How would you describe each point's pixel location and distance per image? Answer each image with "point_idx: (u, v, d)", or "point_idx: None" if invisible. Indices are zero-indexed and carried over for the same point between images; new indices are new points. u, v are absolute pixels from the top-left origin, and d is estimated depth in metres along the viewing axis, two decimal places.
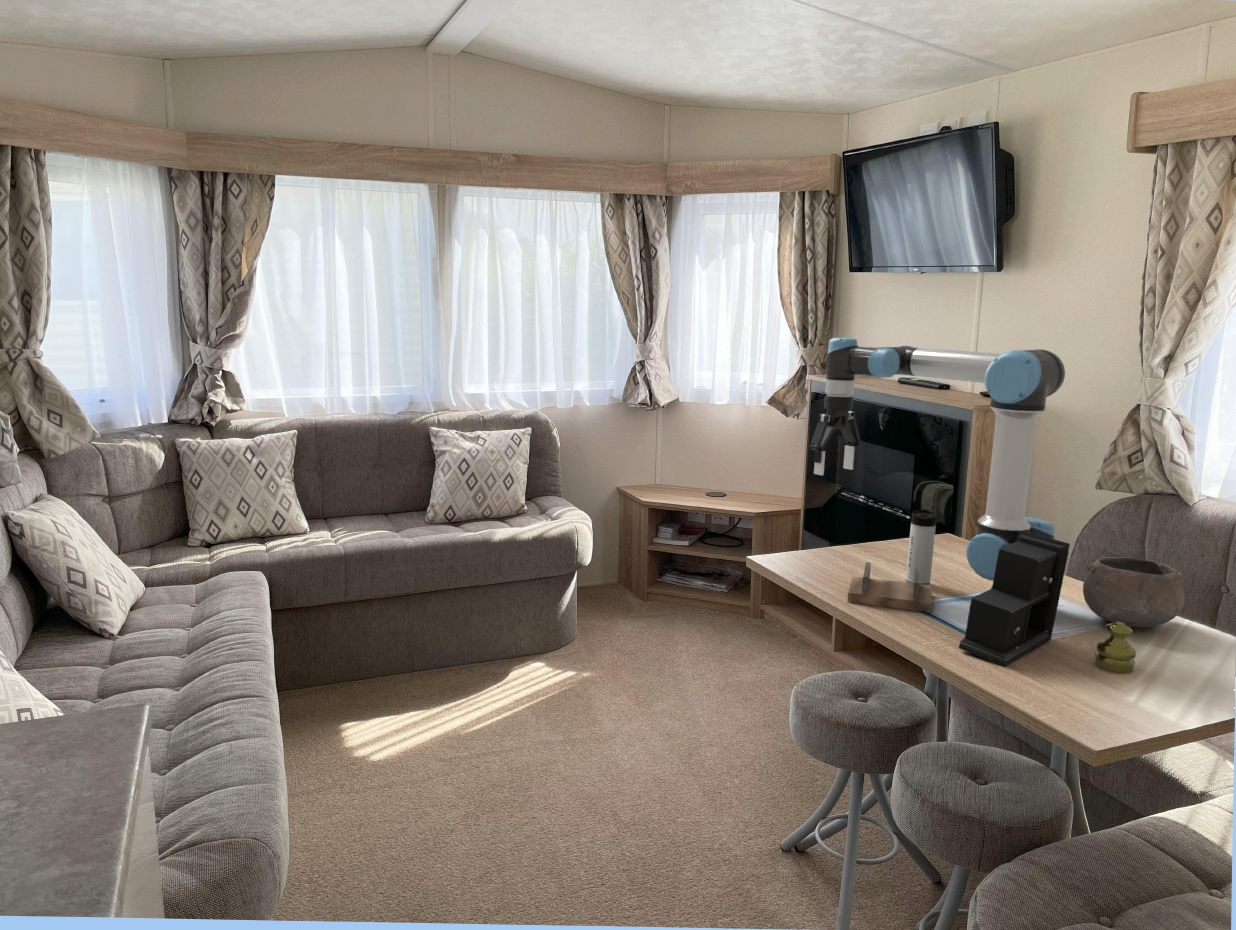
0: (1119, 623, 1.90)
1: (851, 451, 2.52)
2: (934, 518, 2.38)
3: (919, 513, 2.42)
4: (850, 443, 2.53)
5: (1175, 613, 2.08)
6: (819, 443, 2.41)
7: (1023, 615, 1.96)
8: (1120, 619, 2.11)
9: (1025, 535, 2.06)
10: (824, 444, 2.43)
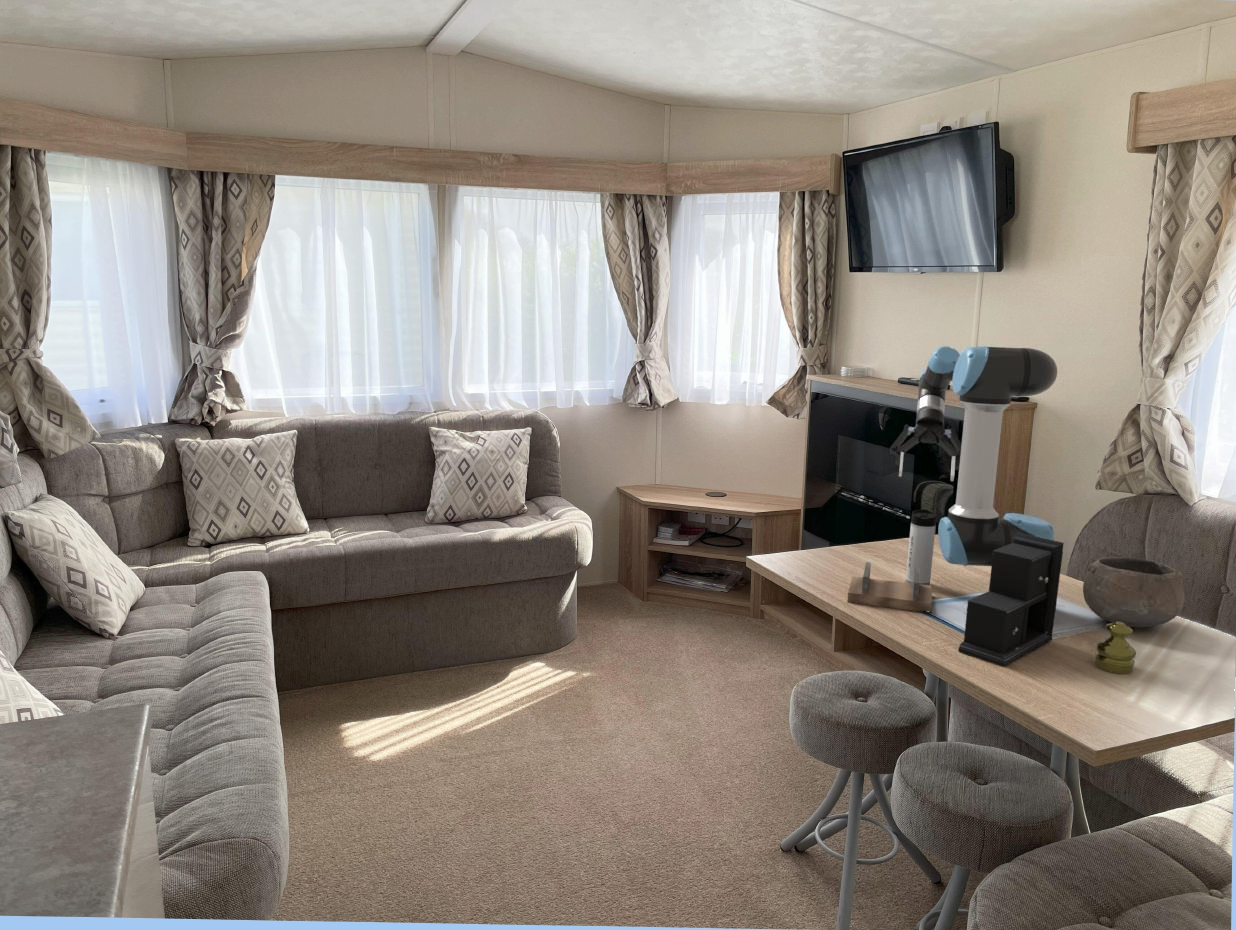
0: (1119, 623, 1.90)
1: (952, 460, 2.49)
2: (934, 518, 2.38)
3: (919, 513, 2.42)
4: None
5: (1175, 613, 2.08)
6: (894, 444, 2.55)
7: (1021, 615, 1.97)
8: (1120, 619, 2.11)
9: (1019, 537, 2.07)
10: (902, 446, 2.54)
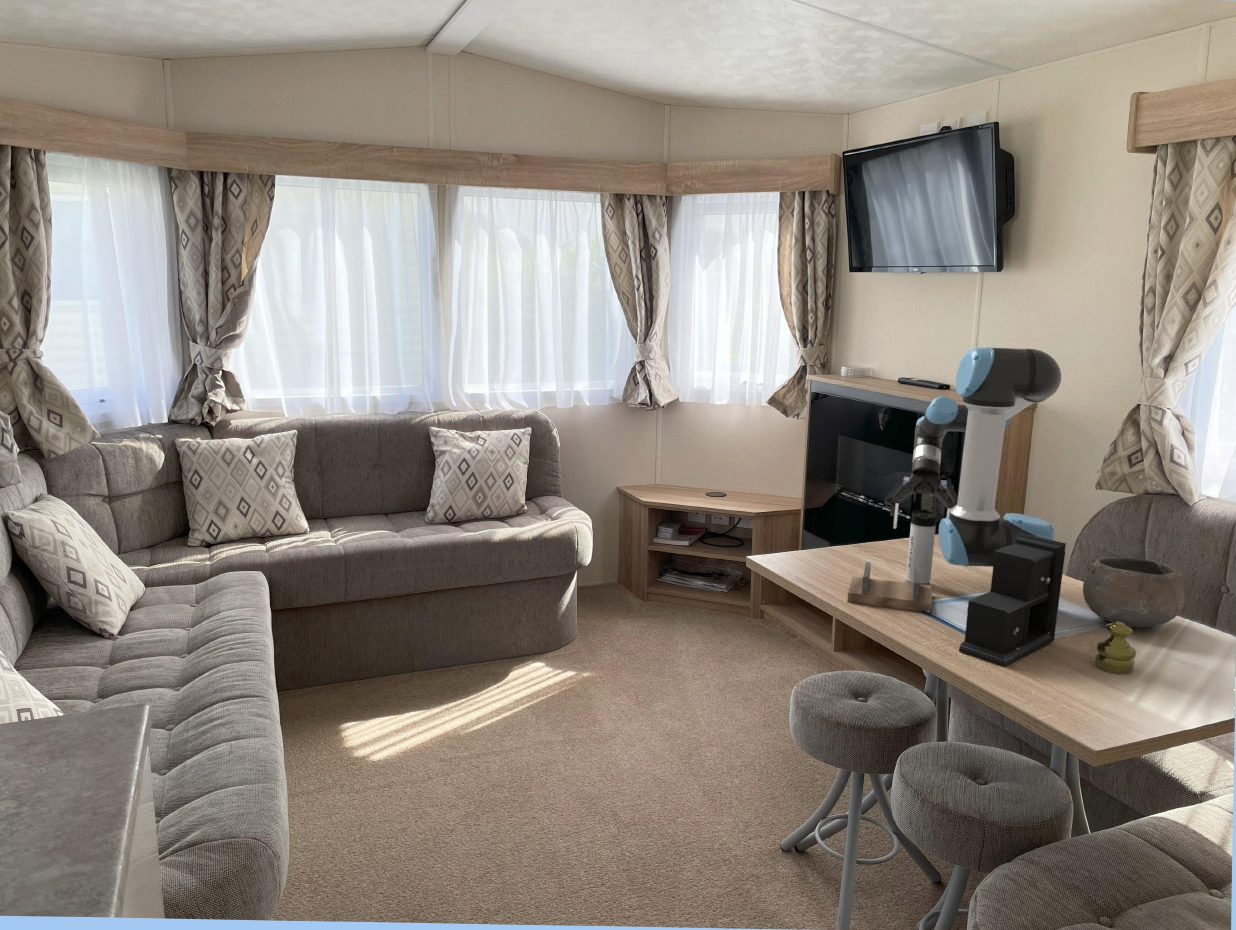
0: (1119, 623, 1.90)
1: (947, 513, 2.45)
2: (934, 518, 2.38)
3: (919, 513, 2.42)
4: None
5: (1175, 613, 2.08)
6: (889, 495, 2.52)
7: (1022, 616, 1.97)
8: (1120, 619, 2.11)
9: (1022, 537, 2.06)
10: (897, 497, 2.51)
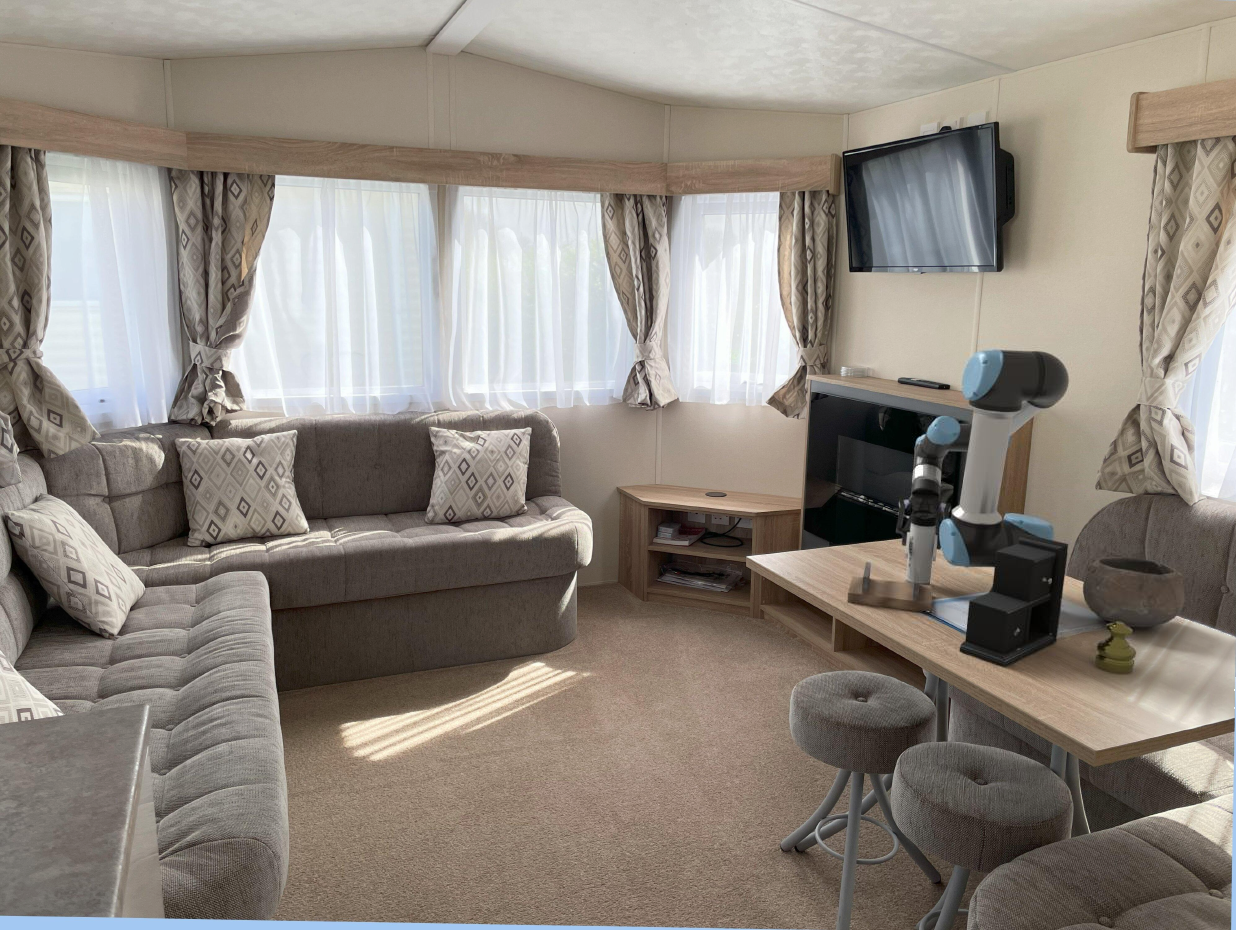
0: (1119, 623, 1.90)
1: (934, 540, 2.40)
2: (934, 518, 2.38)
3: (919, 513, 2.42)
4: None
5: (1175, 613, 2.08)
6: (899, 523, 2.45)
7: (1023, 616, 1.96)
8: (1120, 619, 2.11)
9: (1024, 537, 2.06)
10: (907, 525, 2.44)
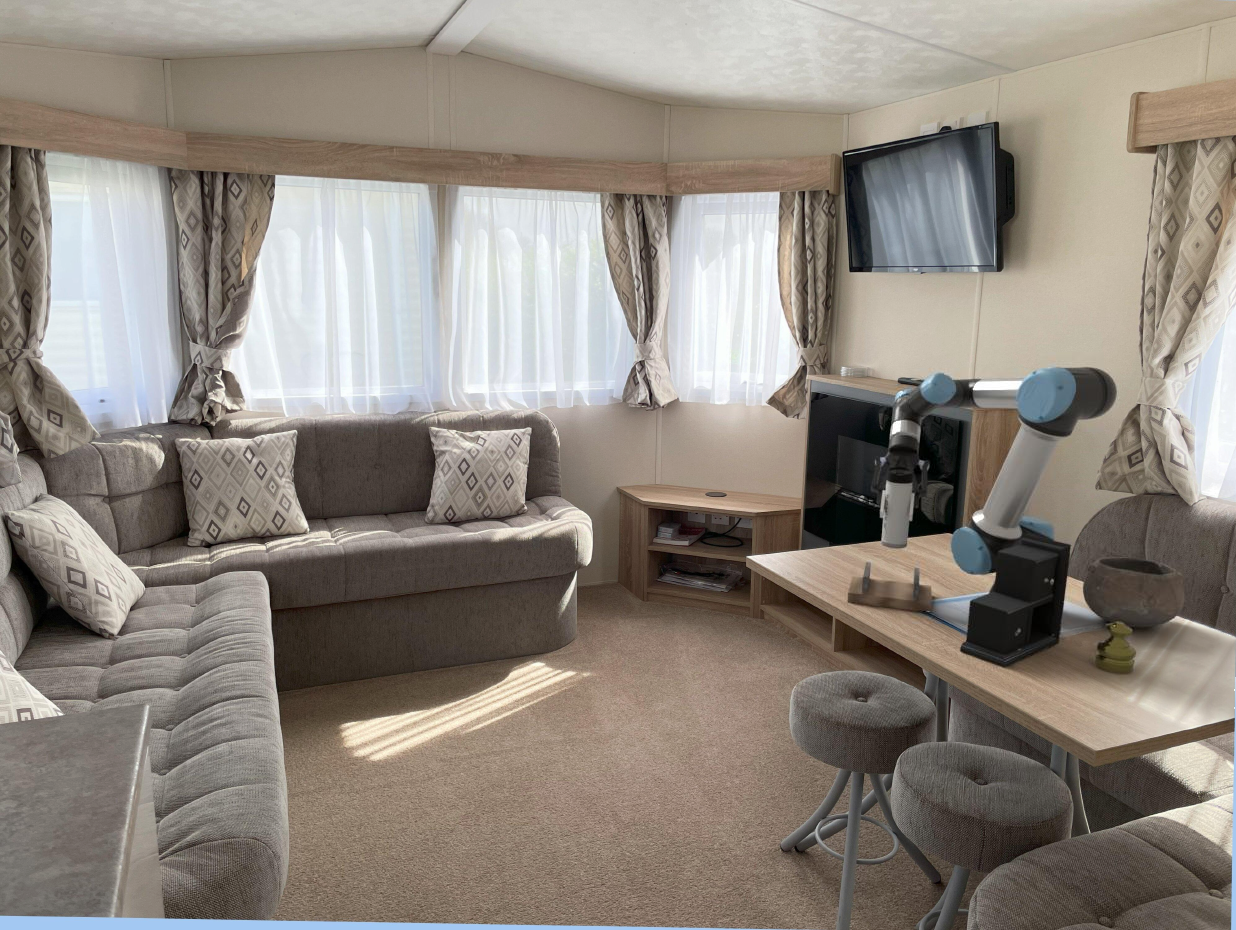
0: (1119, 623, 1.90)
1: None
2: (910, 474, 2.24)
3: (895, 470, 2.27)
4: None
5: (1175, 613, 2.08)
6: (874, 481, 2.30)
7: (1024, 617, 1.96)
8: (1120, 619, 2.11)
9: (1027, 538, 2.06)
10: (883, 483, 2.29)
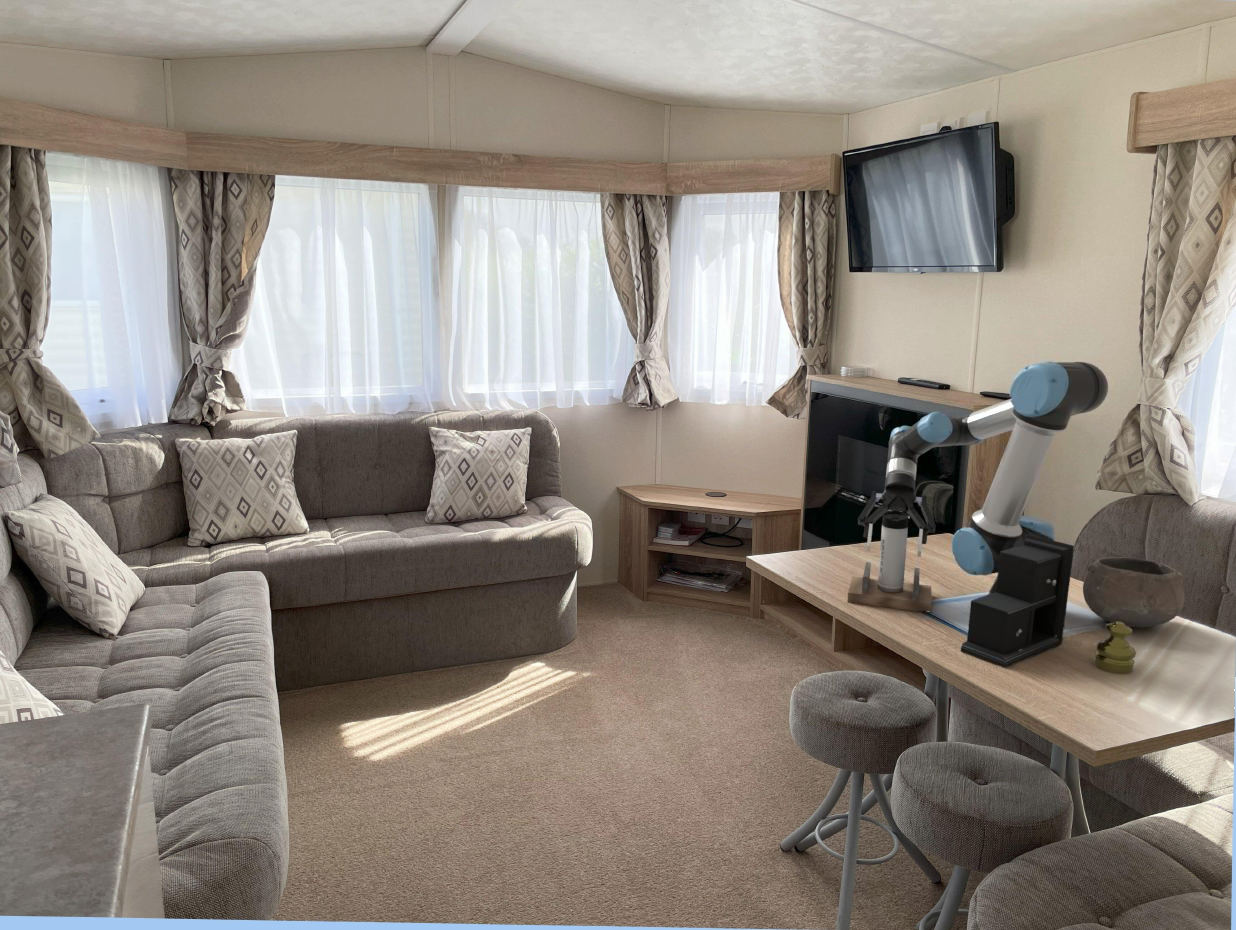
0: (1119, 623, 1.90)
1: (919, 534, 2.27)
2: (906, 520, 2.25)
3: (890, 514, 2.28)
4: None
5: (1175, 613, 2.08)
6: (862, 514, 2.33)
7: (1025, 617, 1.96)
8: (1120, 619, 2.11)
9: (1030, 539, 2.05)
10: (871, 517, 2.32)
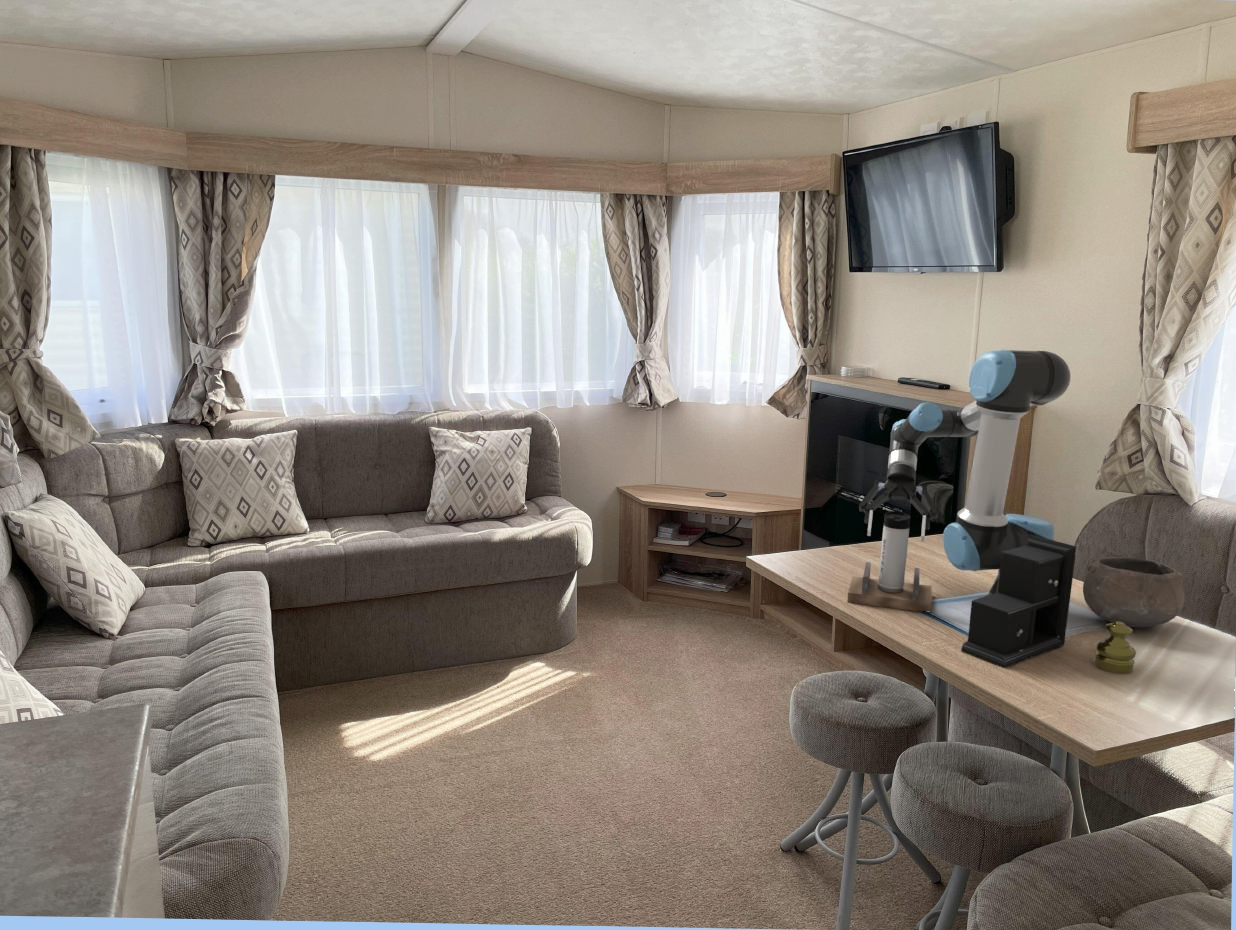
0: (1119, 623, 1.90)
1: (922, 520, 2.39)
2: (908, 520, 2.25)
3: (892, 515, 2.29)
4: None
5: (1175, 613, 2.08)
6: (863, 502, 2.45)
7: (1026, 618, 1.95)
8: (1120, 619, 2.11)
9: (1033, 539, 2.05)
10: (872, 504, 2.44)
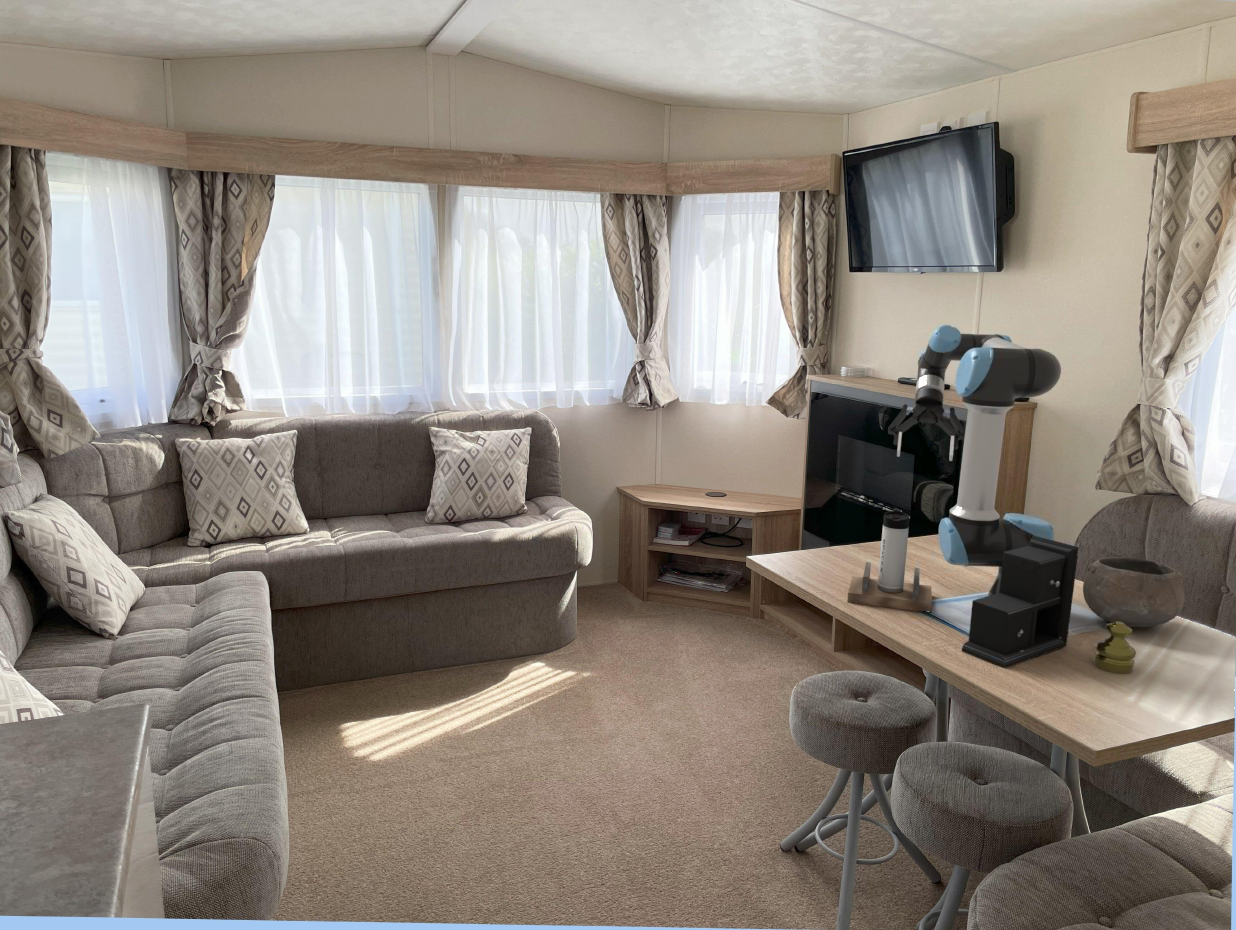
0: (1119, 623, 1.90)
1: None
2: (907, 520, 2.25)
3: (891, 515, 2.29)
4: None
5: (1175, 613, 2.08)
6: (892, 424, 2.51)
7: (1027, 618, 1.95)
8: (1120, 619, 2.11)
9: (1035, 540, 2.04)
10: (901, 426, 2.50)
